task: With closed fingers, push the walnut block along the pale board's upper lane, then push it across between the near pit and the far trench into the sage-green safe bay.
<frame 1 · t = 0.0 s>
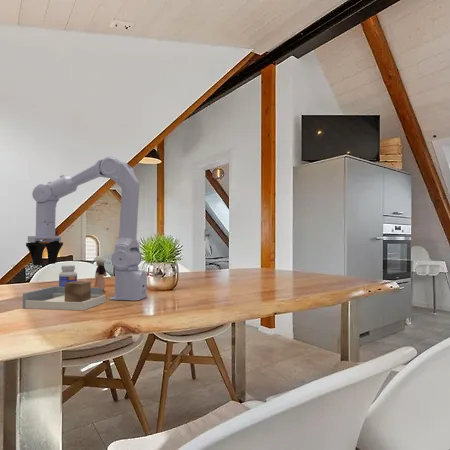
hand: (44, 264, 120), 10 cm above the table, fingers open, 7 cm apart
grandmother figurine: (99, 293, 127), on the table
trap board: (67, 304, 104), on the table
walnut block: (77, 300, 100), point 2 cm above the table, touching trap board
pill bottle: (67, 296, 120), on the table
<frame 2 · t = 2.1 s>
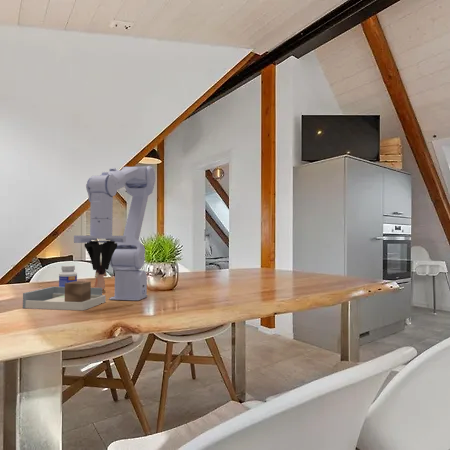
hand: (100, 269, 100), 10 cm above the table, fingers closed
nothing on the table moved.
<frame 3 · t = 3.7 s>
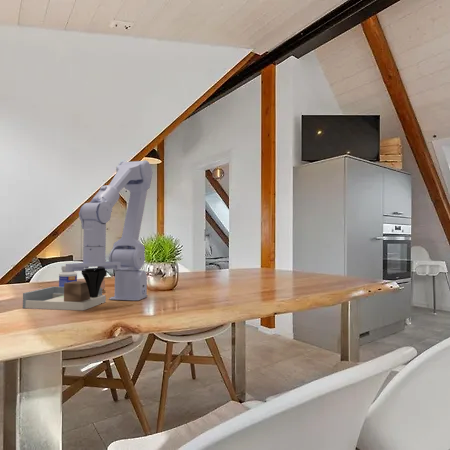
hand: (93, 296, 100), 3 cm above the table, fingers closed
walnut block: (77, 300, 100), point 2 cm above the table, touching gripper, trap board
everything else where it was.
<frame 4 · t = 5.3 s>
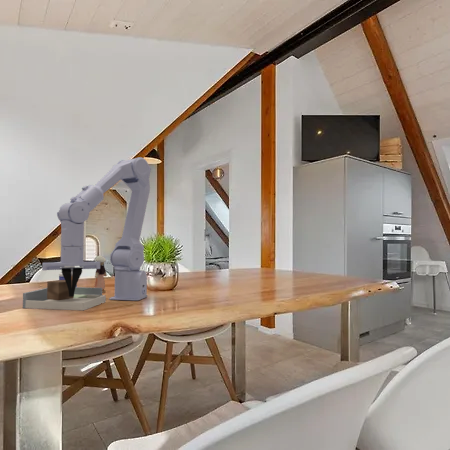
hand: (71, 296, 100), 3 cm above the table, fingers closed
walnut block: (60, 298, 103), point 2 cm above the table, touching gripper, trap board
everything else where it was.
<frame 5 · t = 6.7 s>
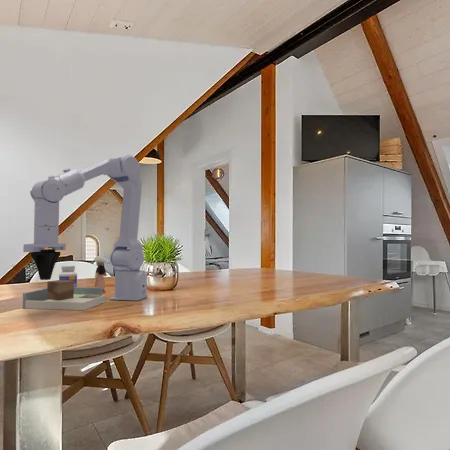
hand: (45, 279, 95), 8 cm above the table, fingers closed
walnut block: (60, 298, 103), point 2 cm above the table, touching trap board
everything else where it was.
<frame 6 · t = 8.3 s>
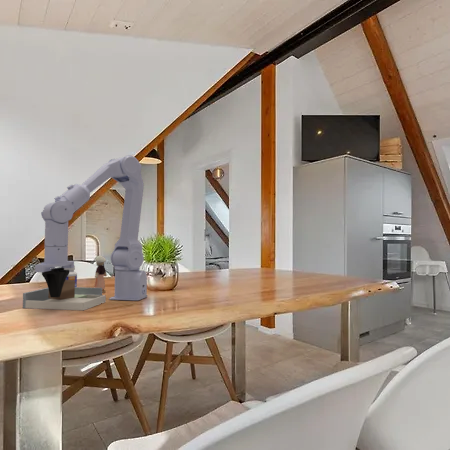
hand: (55, 297, 99), 3 cm above the table, fingers closed
walnut block: (61, 297, 104), point 2 cm above the table, touching gripper
everything else where it was.
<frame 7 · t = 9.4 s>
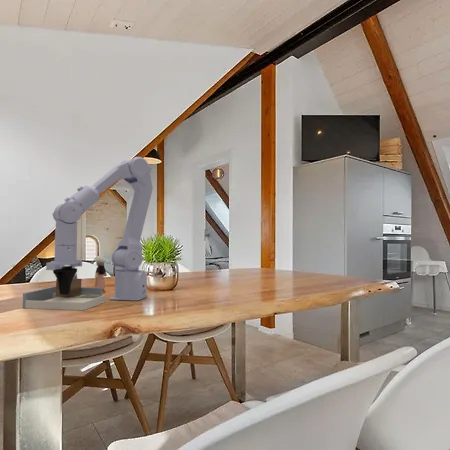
hand: (64, 294, 103), 3 cm above the table, fingers closed
walnut block: (68, 295, 107), point 2 cm above the table, touching gripper, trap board
everything else where it was.
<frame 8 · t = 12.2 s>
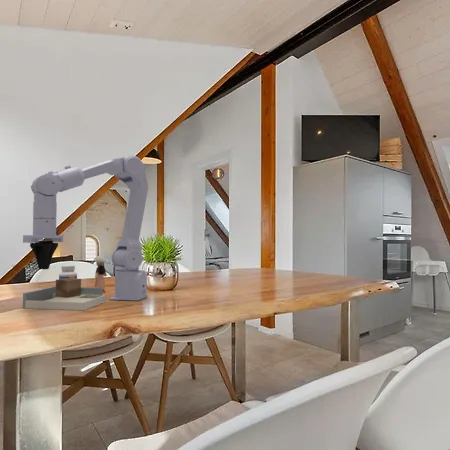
hand: (43, 269, 100), 10 cm above the table, fingers closed
walnut block: (68, 295, 107), point 2 cm above the table, touching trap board
everything else where it was.
at the end: walnut block 1.3 cm from the target spot, point 2.0 cm above the table; walnut block tilted 0° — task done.
